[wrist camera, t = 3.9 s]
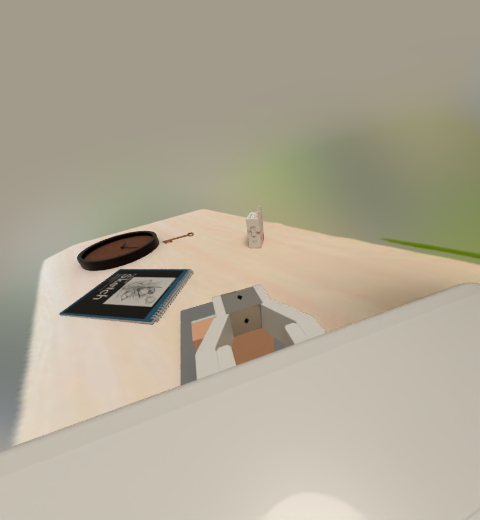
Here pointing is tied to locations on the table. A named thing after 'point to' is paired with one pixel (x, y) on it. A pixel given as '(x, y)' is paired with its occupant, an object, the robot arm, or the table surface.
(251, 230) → the ink cartridge box
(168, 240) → the key
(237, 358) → the tile
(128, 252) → the wall clock
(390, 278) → the table surface
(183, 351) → the mat
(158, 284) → the sketchbook
